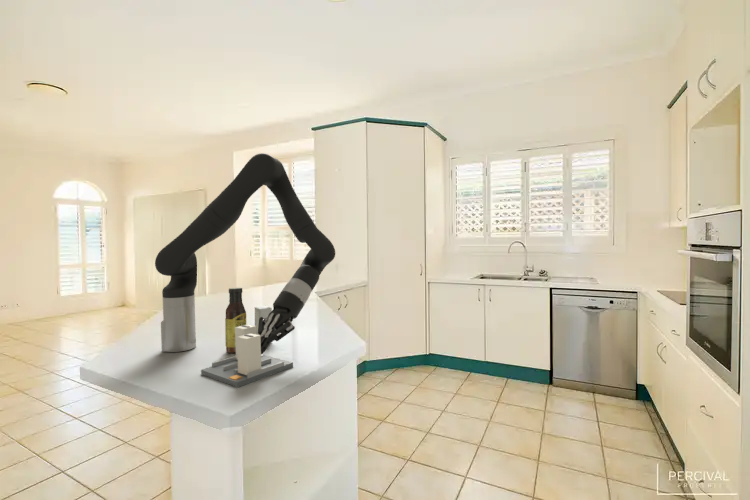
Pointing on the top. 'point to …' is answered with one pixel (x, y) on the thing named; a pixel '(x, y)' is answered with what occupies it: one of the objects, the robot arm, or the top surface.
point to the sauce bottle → (234, 317)
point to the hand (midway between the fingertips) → (257, 352)
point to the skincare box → (261, 314)
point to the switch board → (229, 374)
